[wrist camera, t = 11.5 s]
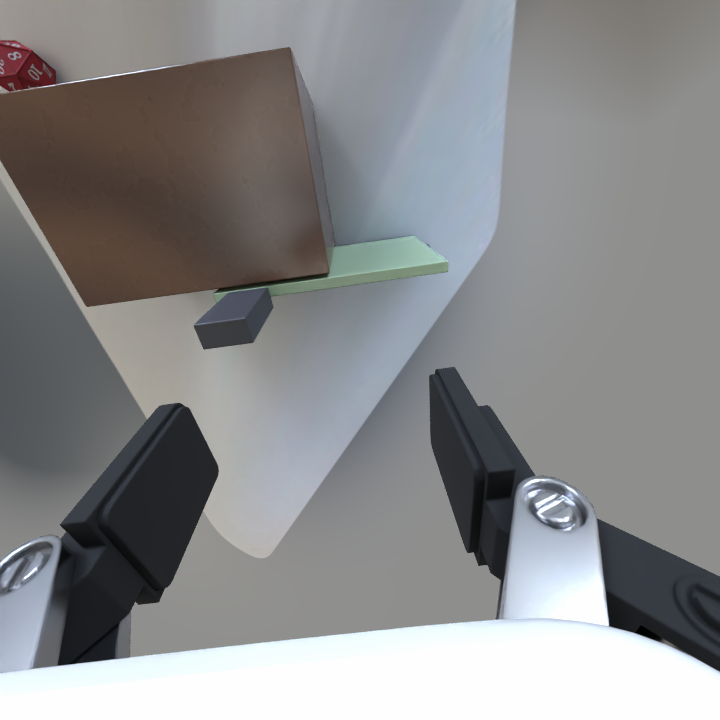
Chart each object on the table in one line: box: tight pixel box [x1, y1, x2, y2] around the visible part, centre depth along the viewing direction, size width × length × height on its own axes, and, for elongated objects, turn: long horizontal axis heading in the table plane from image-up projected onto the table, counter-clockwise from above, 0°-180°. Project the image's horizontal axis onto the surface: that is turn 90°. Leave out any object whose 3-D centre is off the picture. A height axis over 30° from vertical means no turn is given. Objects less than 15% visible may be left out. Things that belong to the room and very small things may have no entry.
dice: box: [0, 40, 56, 92], centre depth 25 cm, size 4×4×4 cm
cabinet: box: [0, 47, 430, 307], centre depth 26 cm, size 14×28×13 cm, turn 97°
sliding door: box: [194, 236, 448, 349], centre depth 26 cm, size 2×17×19 cm, turn 98°
